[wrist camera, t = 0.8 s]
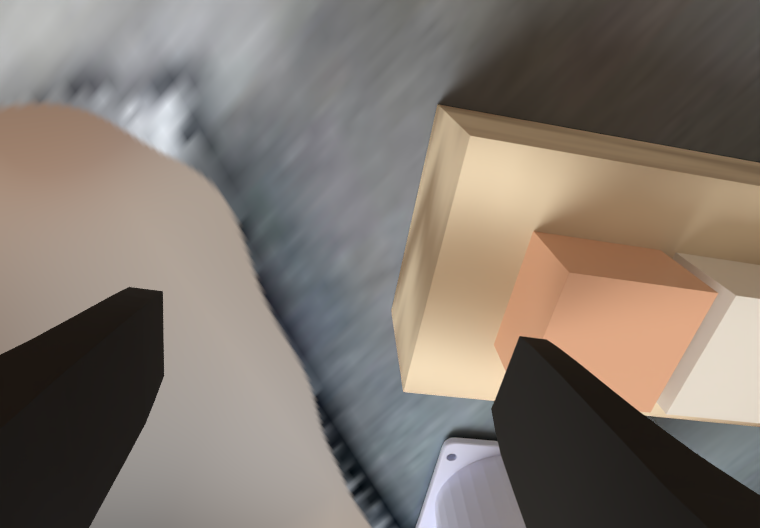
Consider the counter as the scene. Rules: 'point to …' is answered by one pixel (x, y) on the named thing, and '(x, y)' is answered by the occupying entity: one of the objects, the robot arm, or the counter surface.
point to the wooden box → (544, 229)
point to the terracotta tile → (607, 311)
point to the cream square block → (720, 347)
